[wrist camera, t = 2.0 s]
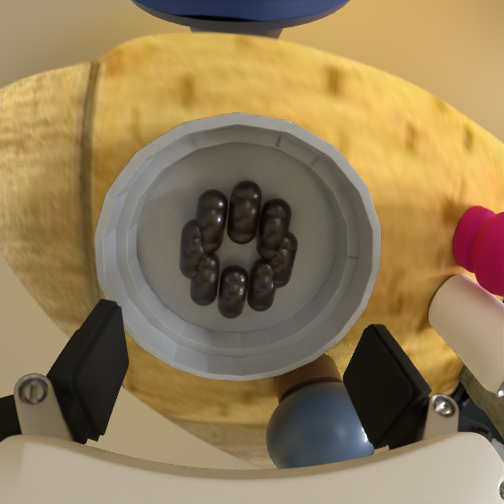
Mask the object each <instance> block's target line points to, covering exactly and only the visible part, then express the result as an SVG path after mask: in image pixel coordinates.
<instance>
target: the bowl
mask: <svg viewBox="0 0 504 504" xmlns="http://www.w3.org/2000/svg"><path fill="white" fill-rule="evenodd" d="M243 180H250V181H253V182H255V183H257V184H258V185H259V187H260V188H261V191H262V202H261V208H260V214H259V220H258V226H257V232H256V235H255V237H254V239H253V240H252V241H251V242H249V243H247V244H244V245H239V244H236V243H234V242H232V241H231V240H230V238H229V237H228V235H227V222H228V215H229V207H230V200H231V193H232V190H233V188H234V186H235V185H236V184H237V183H239V182H240V181H243ZM210 189H216V190H219V191H221V192H222V193H223V194H224V195H225V196H226V198H227V201H228V208H227V216H226V223H225V231H224V239H223V243H222V246H221V247H220V248H219V249H218V250H217V251H215V252H214V253H216V254H217V256H218V257H219V259H220V272H219V280H218V289H217V296H216V299H215V301H214V302H213V303H212V304H210V305H208V306H199V305H197V304H195V303H194V302H193V300H192V299H191V296H190V283H191V279H188V278H186V277H185V276H184V275H183V274H182V273H181V271H180V267H179V262H180V245H181V232H182V228H183V226H184V225H185V224H186V223H187V222H188V221H190V220H192V219H196V210H197V202H198V199H199V197H200V195H201V194H202V193H203V192H205V191H207V190H210ZM273 198H281V199H283V200H285V201H286V202H287V203H288V204H289V205H290V207H291V211H292V215H291V221H290V226H289V231H290V232H292V233H293V234H294V235H295V236H296V238H297V241H298V248H297V252H296V257H295V261H294V266H293V270H292V274H291V278H290V281H289V283H288V284H287V285H286V286H284V287H282V288H278V289H277V288H276V292H275V296H274V301H273V304H272V306H271V307H270V308H269V309H268V310H266V311H263V312H257V311H254V310H253V309H251V308H250V306H249V305H248V302H247V294H248V288H249V282H250V276H251V271H252V266H253V264H254V262H255V261H256V260H258V259H259V258H261V256H260V255H259V254H258V252H257V250H256V241H257V235H258V229H259V223H260V217H261V212H262V207H263V205H264V204H265V203H266V202H267V201H268V200H270V199H273ZM380 228H381V227H380V224H379V220H378V217H377V214H376V211H375V208H374V205H373V202H372V199H371V196H370V193H369V190H368V187H367V185H366V184H365V182H364V181H363V180H362V179H361V177H360V176H359V175H358V173H357V172H356V171H355V170H354V168H353V167H352V166H351V165H350V163H349V162H348V161H347V160H346V158H345V157H344V156H343V155H342V154H341V152H340V151H339V150H338V149H337V148H336V147H334V146H333V145H331V144H330V143H328V142H326V141H325V140H323V139H321V138H320V137H318V136H316V135H315V134H313V133H311V132H310V131H308V130H306V129H304V128H303V127H301V126H299V125H297V124H295V123H294V122H291V121H287V120H282V119H277V118H271V117H266V116H260V115H253V114H247V113H240V112H237V113H229V114H223V115H218V116H213V117H208V118H203V119H198V120H194V121H189V122H185V123H183V124H180V125H178V126H176V127H175V128H173V129H171V130H170V131H168V132H166V133H165V134H163V135H162V136H160V137H158V138H157V139H155V140H154V141H152V142H151V143H149V144H148V145H146V146H145V147H143V148H142V149H140V150H139V151H137V152H136V153H135V154H134V156H133V157H132V158H131V159H130V161H129V162H128V163H127V165H126V166H125V167H124V169H123V170H122V171H121V173H120V174H119V175H118V177H117V178H116V179H115V181H114V182H113V184H112V185H111V186H110V188H109V189H108V191H107V193H106V196H105V199H104V202H103V206H102V209H101V212H100V216H99V220H98V223H97V227H96V231H95V235H94V236H95V237H94V242H95V258H96V270H97V278H98V282H99V285H100V287H101V289H102V292H103V294H104V297H105V299H106V300H112V301H116V302H117V304H118V306H121V308H122V315H123V324H124V330H125V331H126V332H127V333H128V334H129V335H130V337H131V338H132V339H133V340H134V341H135V342H136V343H137V345H139V346H140V347H141V348H143V349H144V350H145V351H147V352H148V353H150V354H151V355H153V356H154V357H156V358H157V359H159V360H160V361H162V362H164V363H165V364H167V365H168V366H170V367H173V368H175V369H178V370H181V371H184V372H187V373H190V374H193V375H196V376H199V377H202V378H206V379H215V380H227V381H250V380H256V379H262V378H268V377H274V376H279V375H282V374H284V373H287V372H289V371H291V370H294V369H296V368H298V367H301V366H303V365H305V364H308V363H310V362H312V361H314V360H316V359H317V358H318V357H320V356H321V355H322V354H324V353H325V352H326V351H328V350H329V349H330V348H331V347H333V346H334V345H335V344H336V343H338V342H339V341H340V340H341V339H343V337H345V335H346V334H347V333H348V331H349V330H350V329H351V328H352V326H353V325H354V324H355V322H356V321H357V319H358V318H359V317H360V315H361V314H362V313H363V311H364V310H365V308H366V306H367V304H368V302H369V299H370V296H371V294H372V291H373V288H374V285H375V282H376V280H377V277H378V274H379V269H380V254H381V229H380ZM230 265H239V266H241V267H243V268H244V269H245V270H246V271H247V274H248V286H247V292H246V298H245V304H244V309H243V312H242V313H241V315H240V316H238V317H237V318H234V319H227V318H225V317H223V316H222V315H221V314H220V313H219V311H218V307H217V304H218V295H219V286H220V278H221V273H222V271H223V270H224V269H225V268H226V267H227V266H230Z"/></svg>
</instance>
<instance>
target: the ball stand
mask: <svg viewBox="0 0 504 504" xmlns="http://www.w3.org/2000/svg"><path fill="white" fill-rule="evenodd" d="M274 381H275V386H276V392H277V397H278V402H279V405H278V406H277V408H276V409H275V411H274V412H273V414H272V416H271V418H270V420H269V423H268V427H267V432H266V444H267V449H268V452H269V455H270V457H271V459H272V461H273V463H274V464H275V465H276V466H277V468H278V469H287V468H299V467H308V466H316V465H323V464H330V463H336V462H342V461H347V460H352V459H357V458H361V457H366V456H370V455H373V453H374V451H375V449H374V447H373V445H372V444H371V443H369V441H368V439H367V437H366V434H365V432H364V430H363V427H362V425H361V423H360V420H359V418H358V415H357V413H356V411H355V408H354V406H353V404H352V402H351V399H350V397H349V395H348V392H347V390H346V388H345V386H344V383H343V380H342V378H341V376H340V373H339V371H338V369H337V366H336V364H335V362H334V360H333V359H332V358H331V357H329V356H327V355H325V354H322V355H321V356H320V357H318V358H317V359H316V360H314V361H312V362H310V363H308V364H305V365H303V366H301V367H298V368H296V369H294V370H291V371H289V372H287V373H284V374H282V375H279V376H275V379H274Z"/></svg>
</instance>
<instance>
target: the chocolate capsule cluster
mask: <svg viewBox="0 0 504 504" xmlns="http://www.w3.org/2000/svg"><path fill="white" fill-rule="evenodd" d="M261 202H262V191H261V188H260V187H259V185H258V184H257V183H255V182H253V181H250V180H243V181H240V182H239V183H237V184H236V185H235V186H234V188H233V190H232V193H231V200H230V207H229V215H228V222H227V235H228V237H229V238H230V240H231V241H232V242H234V243H236V244H239V245H244V244H247V243H249V242H251V241H252V240H253V239H254V237H255V235H256V232H257V226H258V220H259V214H260V208H261ZM227 208H228V201H227V198H226V196H225V195H224V194H223V193H222V192H221V191H219V190H216V189H210V190H207V191H205V192H203V193H202V194H201V195H200V197H199V199H198V202H197V210H196V219H192V220H190V221H188V222H187V223H186V224H185V225H184V226H183V228H182V232H181V245H180V262H179V267H180V271H181V273H182V274H183V275H184V276H185V277H186V278H188V279H191V283H190V296H191V299H192V300H193V302H194V303H195V304H197V305H199V306H208V305H210V304H212V303H213V302H214V301H215V299H216V296H217V289H218V280H219V272H220V259H219V257H218V256H217V254H216V253H214V252H215V251H217V250H218V249H219V248H220V247H221V246H222V243H223V239H224V231H225V223H226V216H227ZM291 215H292V211H291V207H290V205H289V204H288V203H287V202H286V201H285V200H283V199H281V198H273V199H270V200H268V201H267V202H266V203H265V204H264V205H263V207H262V212H261V217H260V223H259V229H258V235H257V241H256V250H257V252H258V254H259V255H260V256H261V258H259V259H258V260H256V261H255V262H254V264H253V266H252V271H251V276H250V282H249V288H248V294H247V302H248V305H249V306H250V308H251V309H253V310H254V311H257V312H263V311H266V310H268V309H269V308H270V307H271V306H272V304H273V301H274V296H275V292H276V288H277V289H278V288H282V287H284V286H286V285H287V284H288V283H289V281H290V278H291V274H292V270H293V266H294V261H295V257H296V252H297V248H298V241H297V238H296V236H295V235H294V234H293V233H292V232H290V231H289V226H290V221H291ZM247 286H248V274H247V271H246V270H245V269H244V268H243V267H241V266H239V265H230V266H227V267H226V268H225V269H224V270H223V271H222V273H221V278H220V286H219V295H218V304H217V307H218V311H219V313H220V314H221V315H222V316H223V317H225V318H227V319H234V318H237V317H238V316H240V315H241V313H242V312H243V309H244V304H245V298H246V292H247Z"/></svg>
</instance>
